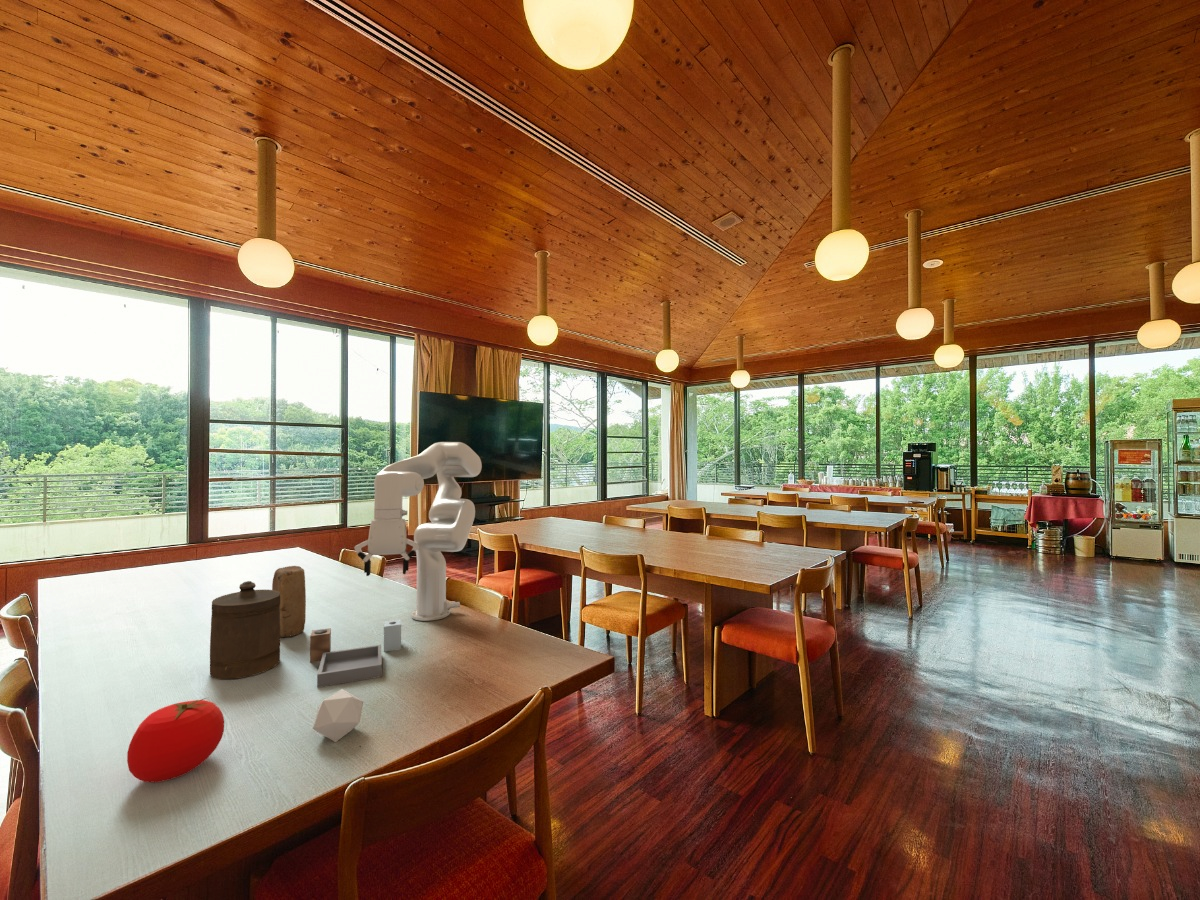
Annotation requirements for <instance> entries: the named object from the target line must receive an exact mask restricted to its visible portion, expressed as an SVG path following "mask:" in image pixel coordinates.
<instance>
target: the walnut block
mask: <svg viewBox="0 0 1200 900" xmlns="http://www.w3.org/2000/svg"><path fill="white" fill-rule="evenodd" d="M331 635H332V629H331V628H323V629H321V628H320V629H314V630H311V633H310V635H309V637H310V638H309V639H310V641H309V643H310V644H309V646H310V647H309V663H314V662H316V663H317V662H321V659H322V655H323V653H325V652H332V651H331V649H332V646H331V643H332V637H331Z"/></svg>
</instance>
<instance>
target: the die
mask: <svg viewBox="0 0 1200 900" xmlns="http://www.w3.org/2000/svg"><path fill="white" fill-rule="evenodd" d="M363 706H364V701H363V700H361V699H360V698H359V697H357V696H355V695H353V694H352V693H350V692H348V691H347V690H345V689H343V688H341V689H340V690H338V691H336V692H335V693H333V694H332V695H330V696H328V697H327V698H325V699H324V700H322V701H321V703H320V705H319V707H318V710H317V712H316V716H315V718H314V719H315V720H314V723H313V726H312V730H313V731H316V732H318V733H319V734H320V735H323V736H324V737H326V739H329V740H331V741H333V742H335V743H337V742H338V741H339V740H340V739H342V738H344V737H345V736H346V735H347V734H348V733H350V732H352V730H354V729H355V728H356V727H357V726H358V725H359V724H360V722H361V717H362V711H363Z"/></svg>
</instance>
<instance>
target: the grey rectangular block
mask: <svg viewBox="0 0 1200 900" xmlns="http://www.w3.org/2000/svg"><path fill="white" fill-rule="evenodd" d="M397 650H402V619H396V620H395V619H393V620H386V621H383V652H390V651H397Z"/></svg>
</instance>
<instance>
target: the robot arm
mask: <svg viewBox="0 0 1200 900" xmlns="http://www.w3.org/2000/svg"><path fill="white" fill-rule="evenodd" d="M482 464H483V463H482V460H481V458H480V456H479V455H478V454H477V453H476V452H475V451H474V450H473V449H472V448H471V447H470V446H469V445H467V444H466V443H464V442H461V441H438V442H434V443H433V444H431V445H430V446H428V447H427V448H426V449H424V450H423V451H422V452H421V453H419V454H418V455H415V456H412V457H411V456H410V457H409V458H405V459H402V460H398V461H395V462H394V463H391V464H389V465H386V466H385V467H384V468H383V469H381V470H380V471H379V472H378V473H376V475H375V478H374V482H373V488H374V503H373V504H374V506H373V507H374V509H373V510H374V511H373V512H374V513H373V519H371V521H370V525H369V531H368V539H366V540H365V541H362V542H360V543H358V544H357V545H354V547H353V549H354V550H355V552H356V554H357V556H358V557H359V558H360V559H361V560H362V561H363V563H364V564H363V565H364V567H363V571H364V574H366V577H369V576H370V575H371V569H372V567H371V566H372V560H371V558H372V557H373V556H382V555H384V556H385V555H386V556H388V555H400V556H402V557H403V559H402V574H403V575H406V573H407V571H409V570H410V569H409V561H410V559H411V558H412V557H413V556H414V555H415V554H416V609H415V610H413V611H412V612H411V619H412V620H416V621H423V622H424V621H425V622H427V621H428V622H429V621H430V622H431V621H438V620H442V619H444V618H447V617H448V616H450V614H451V609H459V608H460V607H461V603H460V601H455V600H454V601H453V600H452V601H448V600H447V598H446V597H447V594H446V593H447V574H446V573H447V563H446V561H447V560H446V558H445V557H444V555H443V553H442V552H448V553H449V552H450V553H454V552H461V551H462V550H463V549H464V548H465V546H466V544H467V541H468V539H469V536H470V533H471V531H472V526H473V524H474V521H475V517H476V507H475V504H474V502H473V501H472V500H471V499H467V498H461V497H462V488H461V486H460V485H459V483H458V482H457V480H456V479H455V478H474V477H478V475H480V473H481V471H482V467H483V466H482ZM435 475H436V477H437V483H438V490H437V492H436V494H435V497H434V499H433V501H432V504H431V506H430V509H429V512H428V518H429V521H430V522H425V523H422V524H420V525H417V527H416V528H415V530H414V533H413V540H412V539H409V538H407V524H406V519H405V518H403V517H404V516H408V510H405V509H404V508H403V499H404V498H403V497H415V496H417V495H419V494H421V492H422V491H423V489H424V485H425V482H424V479H425V480H426V479H430V478H432V477H434V476H435ZM407 545H409V546H411V547H412V549H411V550H410V551H409V552H407V551H406V550H407ZM366 546H367V554H365V553H364V552H363V551H362V548H364V547H366Z"/></svg>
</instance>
